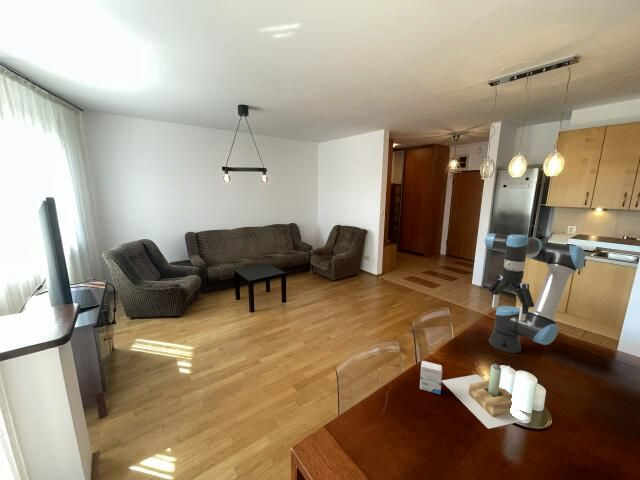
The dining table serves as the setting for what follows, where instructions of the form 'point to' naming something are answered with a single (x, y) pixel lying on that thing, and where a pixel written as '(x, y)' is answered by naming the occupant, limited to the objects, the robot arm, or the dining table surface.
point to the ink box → (431, 377)
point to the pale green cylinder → (494, 380)
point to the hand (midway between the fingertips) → (507, 313)
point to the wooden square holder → (491, 399)
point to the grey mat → (462, 393)
